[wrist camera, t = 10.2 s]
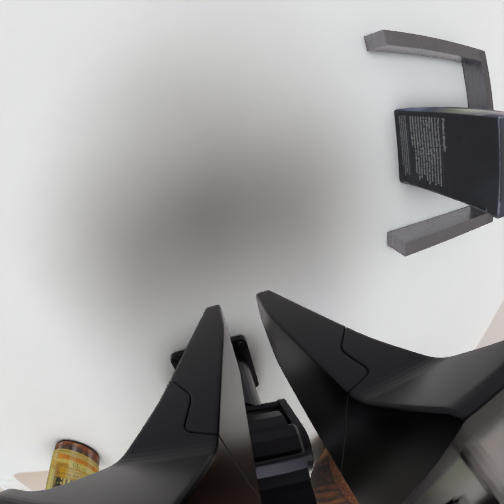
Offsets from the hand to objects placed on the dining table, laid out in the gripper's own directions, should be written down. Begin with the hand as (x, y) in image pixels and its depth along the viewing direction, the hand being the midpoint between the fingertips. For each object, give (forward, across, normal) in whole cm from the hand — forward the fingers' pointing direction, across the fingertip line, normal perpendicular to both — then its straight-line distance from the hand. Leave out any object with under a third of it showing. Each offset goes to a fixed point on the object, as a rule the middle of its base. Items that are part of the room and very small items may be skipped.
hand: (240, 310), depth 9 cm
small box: (+12, -21, -2) cm, 24 cm away
